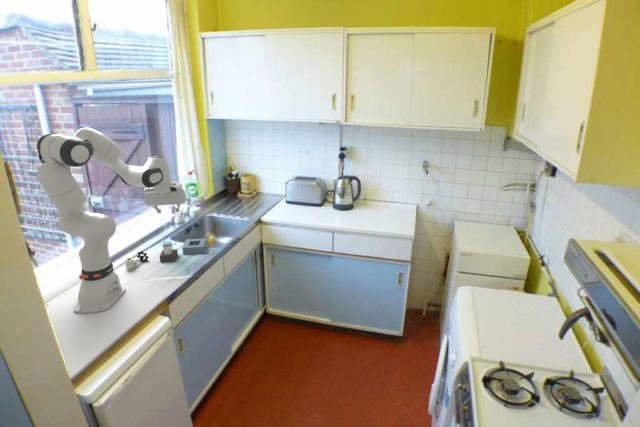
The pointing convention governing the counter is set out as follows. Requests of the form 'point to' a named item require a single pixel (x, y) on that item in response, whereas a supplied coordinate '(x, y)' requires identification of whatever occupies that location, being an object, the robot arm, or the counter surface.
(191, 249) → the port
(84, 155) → the robot arm
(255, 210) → the counter surface
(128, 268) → the valve
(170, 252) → the plug
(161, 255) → the grey square container
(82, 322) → the counter surface
